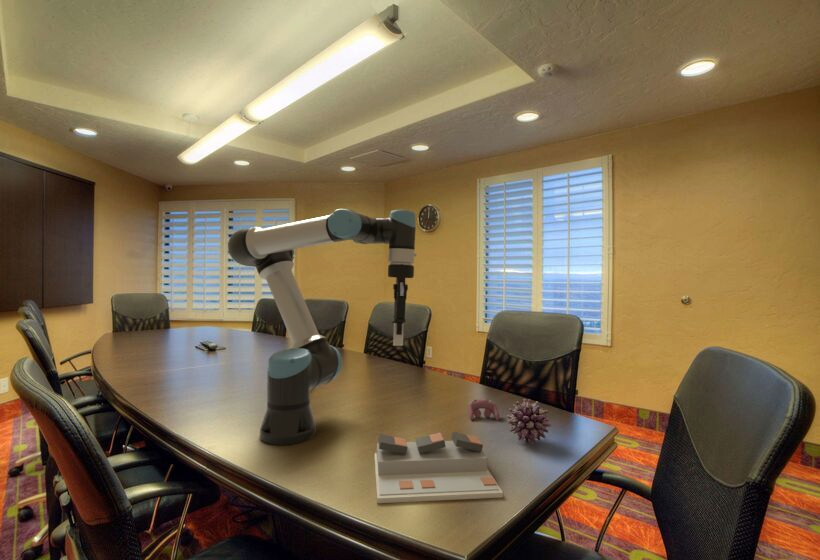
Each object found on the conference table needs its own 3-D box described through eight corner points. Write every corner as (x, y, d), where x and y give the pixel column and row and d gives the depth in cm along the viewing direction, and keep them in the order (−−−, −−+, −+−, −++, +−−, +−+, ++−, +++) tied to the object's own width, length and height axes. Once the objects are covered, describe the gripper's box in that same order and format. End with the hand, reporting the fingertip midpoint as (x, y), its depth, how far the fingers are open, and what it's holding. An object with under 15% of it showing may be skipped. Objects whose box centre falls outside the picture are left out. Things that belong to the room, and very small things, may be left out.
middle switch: (419, 453, 90) (417, 446, 90) (416, 444, 94) (415, 438, 94) (445, 447, 90) (444, 440, 90) (441, 438, 95) (440, 431, 95)
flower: (546, 455, 100) (547, 409, 100) (501, 444, 106) (502, 401, 106) (554, 439, 110) (554, 397, 110) (511, 430, 116) (512, 391, 116)
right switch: (455, 446, 91) (457, 439, 91) (451, 437, 96) (453, 431, 96) (481, 452, 92) (483, 445, 92) (475, 443, 96) (477, 436, 96)
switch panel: (377, 503, 77) (377, 483, 77) (374, 457, 97) (374, 441, 97) (502, 497, 80) (503, 478, 80) (475, 453, 100) (475, 438, 100)
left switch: (379, 448, 89) (380, 441, 89) (378, 440, 93) (380, 433, 93) (405, 454, 89) (407, 447, 89) (403, 445, 94) (405, 438, 94)
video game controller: (496, 421, 127) (494, 399, 131) (500, 420, 123) (498, 397, 126) (467, 421, 127) (465, 399, 130) (470, 420, 123) (468, 397, 126)
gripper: (416, 264, 106) (413, 349, 106) (411, 265, 119) (408, 341, 119) (389, 263, 105) (386, 349, 105) (387, 264, 118) (384, 341, 118)
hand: (398, 345), depth 112 cm, fingers closed
